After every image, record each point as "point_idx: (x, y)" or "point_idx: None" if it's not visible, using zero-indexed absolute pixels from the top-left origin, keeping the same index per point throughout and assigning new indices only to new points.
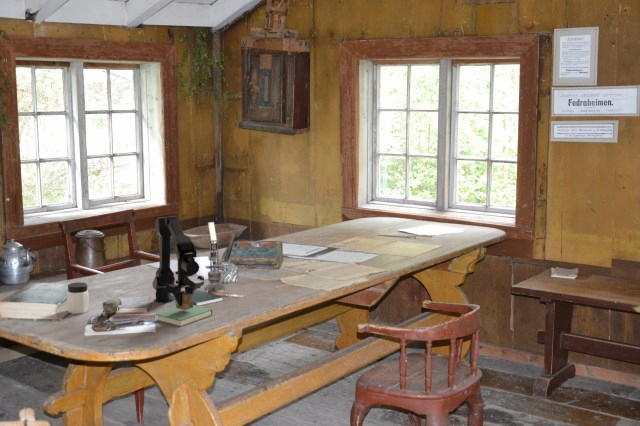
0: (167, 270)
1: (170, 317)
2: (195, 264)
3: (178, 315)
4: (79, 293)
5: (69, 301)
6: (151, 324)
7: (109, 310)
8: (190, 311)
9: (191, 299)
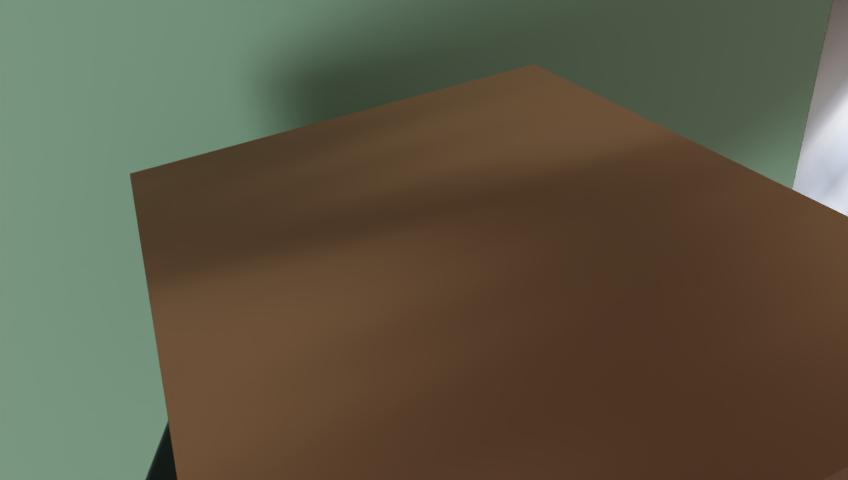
0: None
1: (819, 27)
2: None
3: (646, 38)
4: None
5: None
6: (835, 160)
7: None
8: (206, 150)
9: (312, 349)
